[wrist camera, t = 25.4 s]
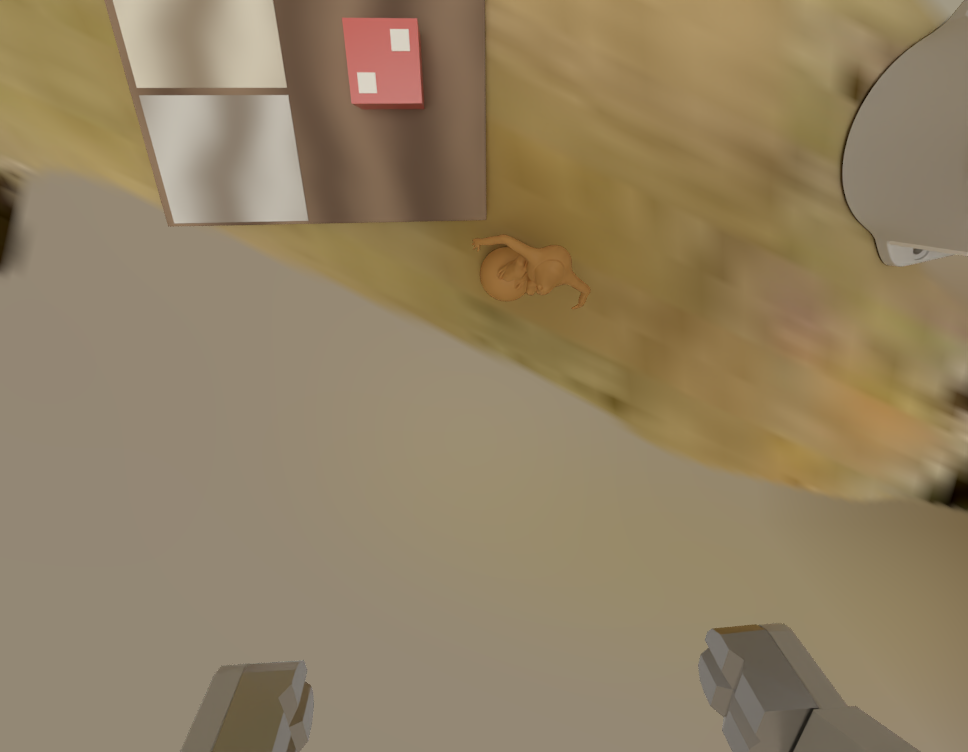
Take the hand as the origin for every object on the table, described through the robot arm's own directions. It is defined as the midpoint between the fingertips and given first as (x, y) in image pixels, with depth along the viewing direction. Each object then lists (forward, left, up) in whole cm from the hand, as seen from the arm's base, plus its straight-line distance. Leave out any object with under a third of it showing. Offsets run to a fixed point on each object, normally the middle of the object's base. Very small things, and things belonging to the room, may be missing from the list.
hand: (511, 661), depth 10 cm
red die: (+4, -14, -30) cm, 33 cm away
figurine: (-4, -2, -31) cm, 31 cm away
